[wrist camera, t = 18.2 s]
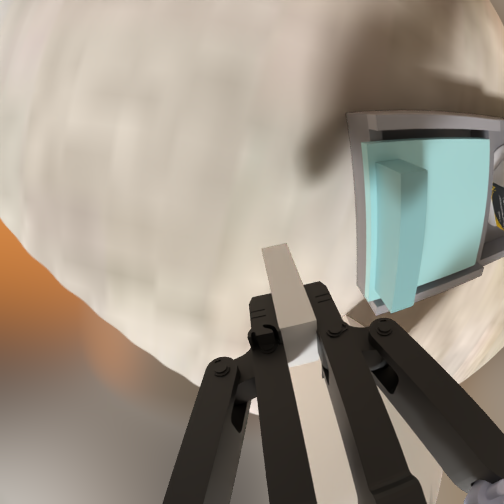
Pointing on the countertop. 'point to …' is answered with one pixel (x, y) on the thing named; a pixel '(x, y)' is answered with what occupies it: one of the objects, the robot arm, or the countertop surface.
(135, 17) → the countertop surface
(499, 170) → the medicine bottle
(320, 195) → the countertop surface
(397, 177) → the lid
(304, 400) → the milk
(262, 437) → the robot arm
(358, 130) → the housing
